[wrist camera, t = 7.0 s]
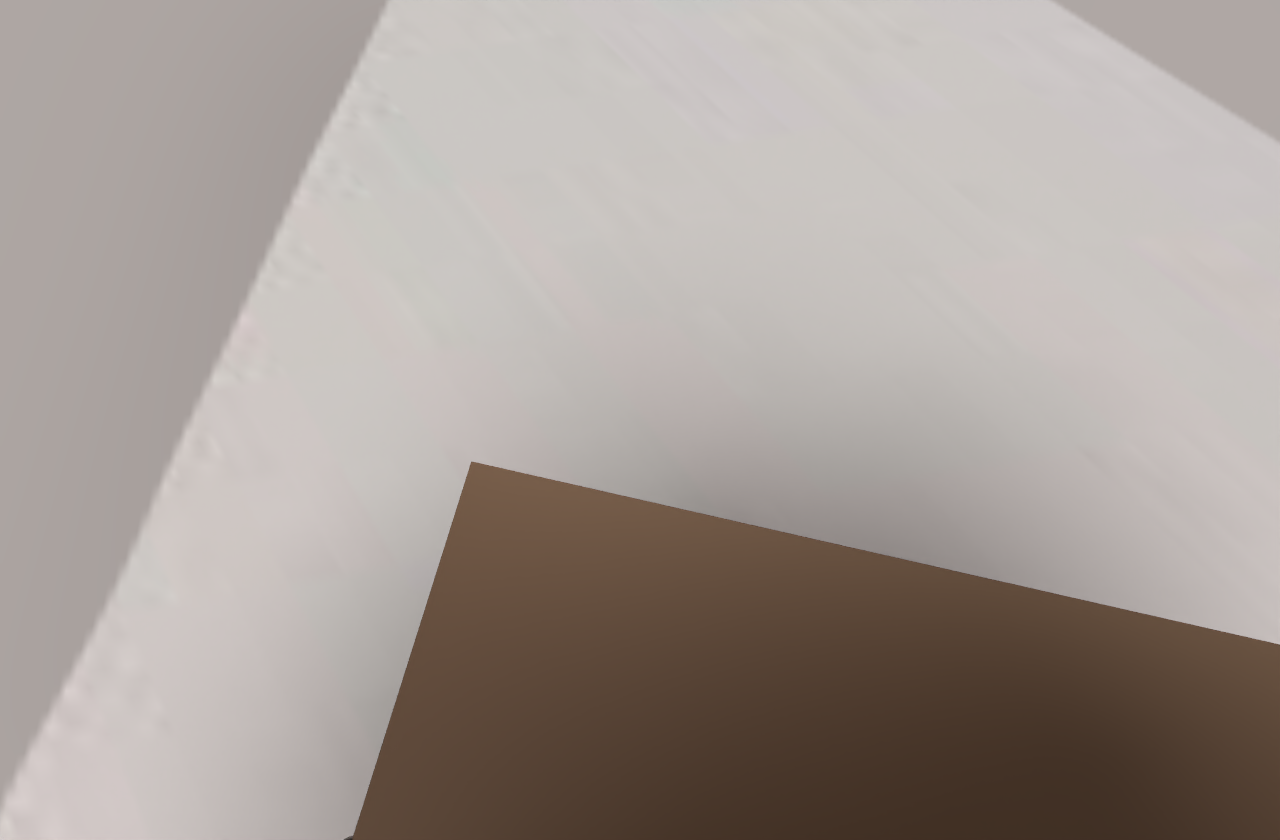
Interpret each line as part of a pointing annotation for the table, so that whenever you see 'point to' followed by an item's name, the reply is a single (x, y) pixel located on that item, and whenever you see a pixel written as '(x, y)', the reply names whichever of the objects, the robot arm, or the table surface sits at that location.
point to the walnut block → (797, 693)
